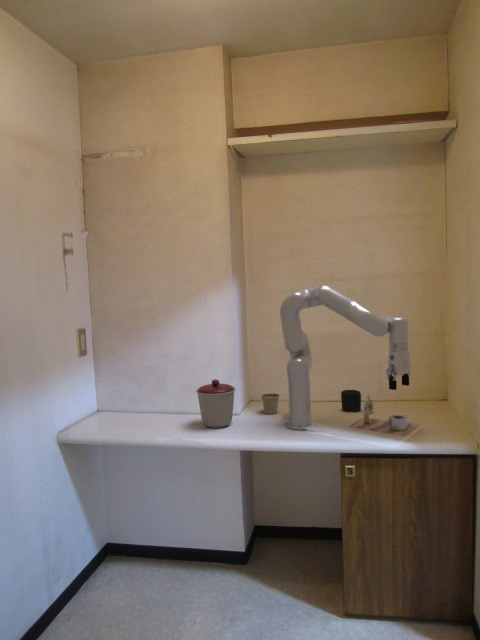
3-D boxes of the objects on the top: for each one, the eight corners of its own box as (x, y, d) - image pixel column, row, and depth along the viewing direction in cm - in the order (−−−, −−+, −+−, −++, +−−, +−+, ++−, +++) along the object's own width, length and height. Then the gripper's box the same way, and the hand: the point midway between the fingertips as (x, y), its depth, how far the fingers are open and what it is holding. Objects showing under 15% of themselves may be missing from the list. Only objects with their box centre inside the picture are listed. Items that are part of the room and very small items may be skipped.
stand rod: (363, 423, 212) (363, 411, 212) (365, 422, 214) (365, 410, 214) (367, 424, 211) (367, 412, 211) (369, 423, 213) (369, 411, 212)
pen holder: (337, 412, 236) (337, 392, 235) (349, 408, 242) (348, 388, 241) (353, 416, 229) (353, 395, 228) (365, 412, 235) (364, 391, 234)
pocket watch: (383, 419, 222) (383, 397, 221) (364, 419, 223) (364, 397, 222) (382, 414, 229) (381, 393, 229) (363, 414, 231) (363, 393, 230)
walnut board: (348, 429, 209) (348, 426, 209) (363, 420, 222) (363, 417, 222) (403, 438, 195) (403, 435, 195) (416, 428, 207) (416, 425, 207)
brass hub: (387, 429, 203) (387, 421, 203) (393, 425, 209) (393, 417, 208) (403, 431, 199) (403, 423, 199) (409, 427, 205) (408, 419, 204)
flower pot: (261, 410, 246) (260, 393, 245) (279, 409, 246) (279, 392, 245) (261, 415, 237) (260, 397, 236) (280, 414, 236) (280, 397, 236)
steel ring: (393, 429, 200) (393, 420, 200) (386, 424, 207) (386, 415, 207) (410, 428, 201) (410, 418, 201) (402, 423, 208) (402, 414, 208)
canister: (242, 420, 230) (240, 376, 228) (229, 431, 213) (227, 384, 211) (206, 418, 236) (204, 375, 234) (191, 429, 219) (189, 383, 217)
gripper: (395, 350, 194) (396, 392, 195) (417, 344, 205) (418, 384, 207) (378, 348, 200) (379, 389, 201) (401, 343, 211) (402, 382, 212)
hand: (399, 387), depth 204 cm, fingers open, 9 cm apart
